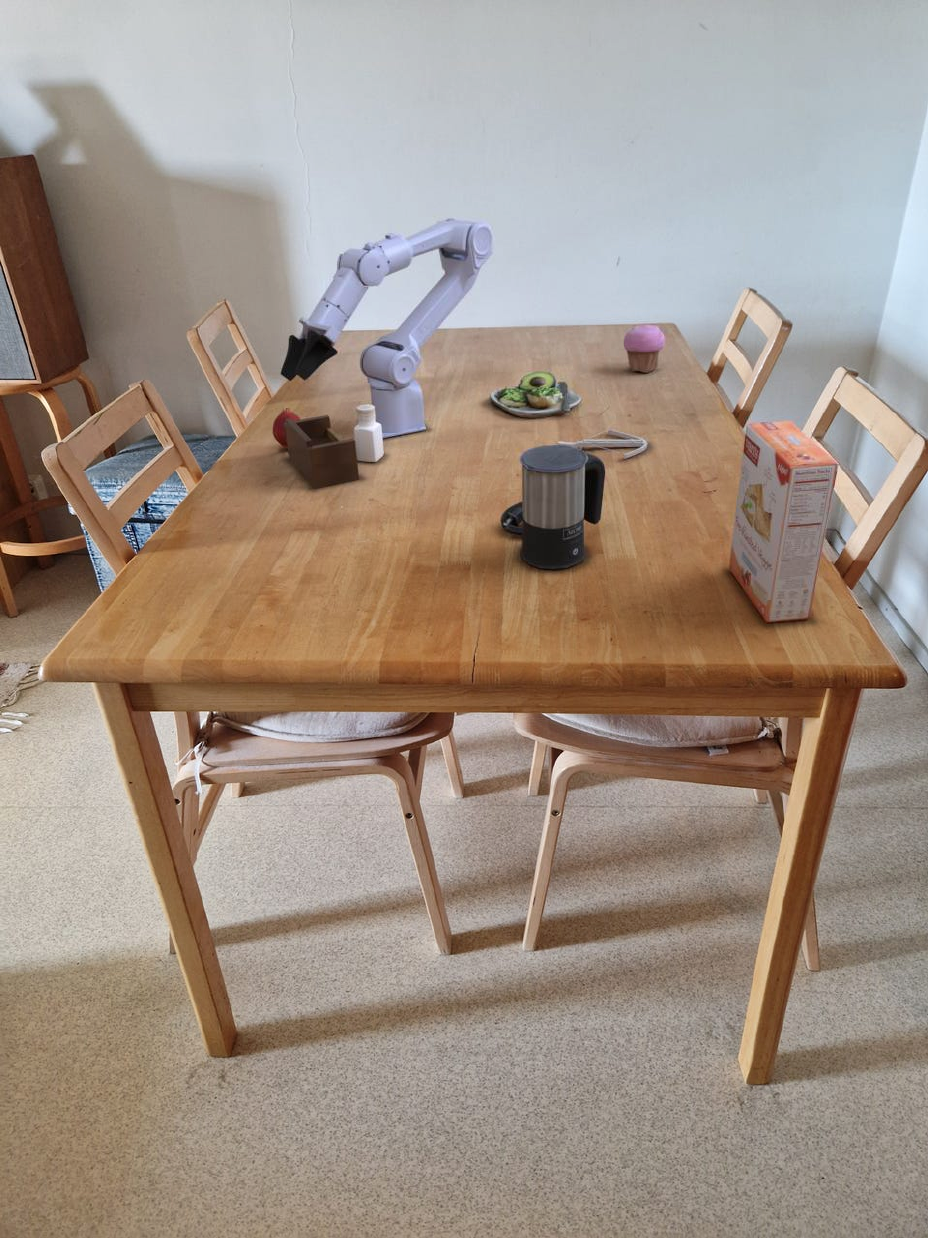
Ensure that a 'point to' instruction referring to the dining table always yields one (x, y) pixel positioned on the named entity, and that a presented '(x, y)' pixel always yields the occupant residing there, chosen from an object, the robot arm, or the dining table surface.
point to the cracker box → (781, 519)
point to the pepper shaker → (368, 435)
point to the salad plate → (536, 397)
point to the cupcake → (644, 347)
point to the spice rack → (321, 452)
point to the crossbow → (612, 443)
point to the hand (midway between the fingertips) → (292, 377)
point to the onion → (283, 426)
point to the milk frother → (556, 504)
